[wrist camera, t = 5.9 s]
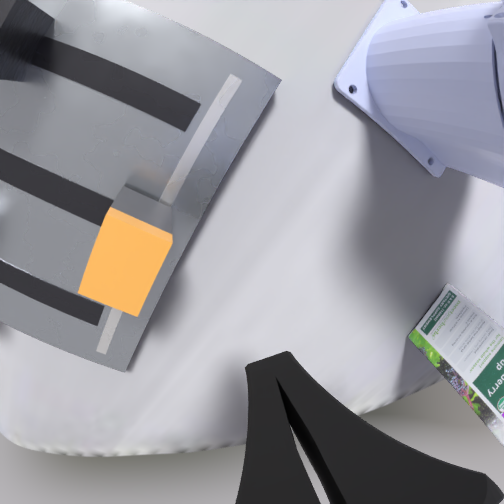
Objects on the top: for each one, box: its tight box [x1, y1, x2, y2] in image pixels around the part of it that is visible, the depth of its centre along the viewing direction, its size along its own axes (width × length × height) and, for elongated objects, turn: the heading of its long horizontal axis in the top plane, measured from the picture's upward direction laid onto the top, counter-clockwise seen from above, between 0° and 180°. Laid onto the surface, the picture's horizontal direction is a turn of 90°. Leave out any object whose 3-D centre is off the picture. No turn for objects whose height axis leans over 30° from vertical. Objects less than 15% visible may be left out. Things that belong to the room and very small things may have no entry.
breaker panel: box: [0, 0, 282, 373], centre depth 11 cm, size 14×18×5 cm
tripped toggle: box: [78, 186, 173, 317], centre depth 12 cm, size 2×3×4 cm
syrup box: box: [409, 283, 504, 447], centre depth 18 cm, size 6×6×14 cm
